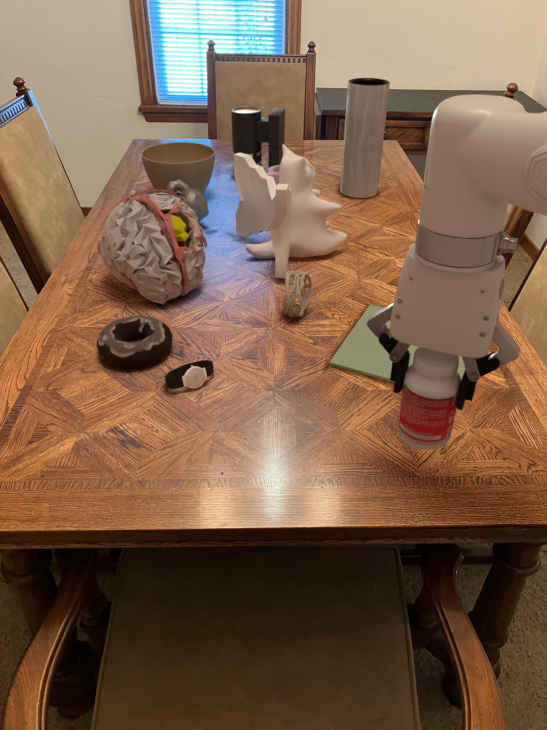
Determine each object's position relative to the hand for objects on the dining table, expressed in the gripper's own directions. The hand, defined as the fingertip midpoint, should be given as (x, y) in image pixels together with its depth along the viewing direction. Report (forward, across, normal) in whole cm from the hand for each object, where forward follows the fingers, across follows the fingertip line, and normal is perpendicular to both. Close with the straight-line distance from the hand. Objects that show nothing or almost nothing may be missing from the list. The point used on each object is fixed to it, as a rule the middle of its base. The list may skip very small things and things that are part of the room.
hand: (430, 393), depth 64 cm
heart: (+11, +67, -53) cm, 86 cm away
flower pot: (+10, +79, -68) cm, 105 cm away
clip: (+11, +55, -76) cm, 94 cm away
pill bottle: (+6, 0, 0) cm, 6 cm away
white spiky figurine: (+11, +40, -51) cm, 66 cm away
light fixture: (+10, +70, -93) cm, 117 cm away
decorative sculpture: (+11, +57, -26) cm, 64 cm away
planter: (+11, +40, -94) cm, 103 cm away
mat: (+12, +8, -26) cm, 30 cm away
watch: (+12, +35, -3) cm, 37 cm away
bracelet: (+12, +29, -28) cm, 42 cm away
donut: (+11, +47, -6) cm, 49 cm away
